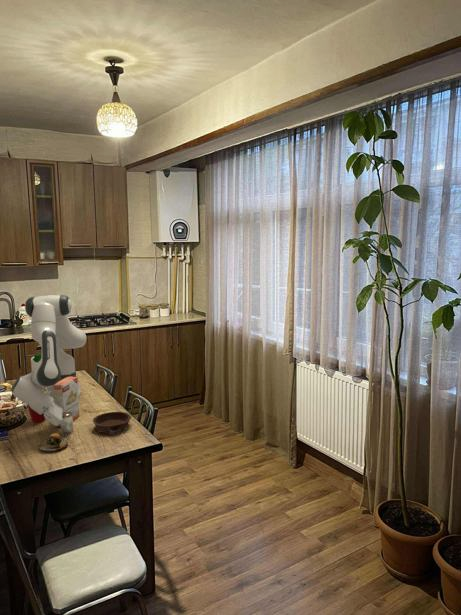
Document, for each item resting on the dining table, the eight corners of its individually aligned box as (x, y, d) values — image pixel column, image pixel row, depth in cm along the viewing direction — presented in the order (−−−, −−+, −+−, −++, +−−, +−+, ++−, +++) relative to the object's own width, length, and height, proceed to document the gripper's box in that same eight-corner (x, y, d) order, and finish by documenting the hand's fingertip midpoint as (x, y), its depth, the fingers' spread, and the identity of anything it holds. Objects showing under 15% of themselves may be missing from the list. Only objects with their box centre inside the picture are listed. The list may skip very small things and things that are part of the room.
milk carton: (31, 387, 280) (28, 355, 277) (36, 383, 289) (34, 352, 286) (46, 387, 280) (43, 355, 277) (50, 382, 289) (48, 351, 286)
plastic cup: (22, 425, 222) (20, 401, 220) (32, 416, 232) (30, 394, 231) (44, 425, 221) (42, 401, 220) (53, 416, 232) (52, 394, 230)
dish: (125, 417, 231) (125, 407, 230) (136, 433, 211) (136, 422, 211) (89, 423, 224) (89, 413, 223) (97, 440, 204) (97, 429, 203)
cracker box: (65, 427, 218) (62, 385, 215) (54, 426, 220) (51, 384, 217) (80, 416, 232) (78, 376, 229) (69, 415, 233) (67, 376, 230)
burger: (34, 447, 197) (33, 431, 196) (60, 439, 206) (59, 423, 205) (45, 456, 189) (44, 439, 188) (73, 447, 197) (72, 431, 196)
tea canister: (58, 432, 212) (57, 414, 211) (69, 428, 217) (68, 410, 215) (64, 435, 209) (63, 417, 208) (76, 431, 213) (74, 413, 212)
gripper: (47, 406, 198) (72, 425, 203) (49, 392, 218) (72, 409, 222) (37, 417, 198) (62, 436, 202) (40, 402, 217) (63, 419, 221)
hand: (68, 422), depth 212 cm, fingers closed on tea canister, 5 cm apart
